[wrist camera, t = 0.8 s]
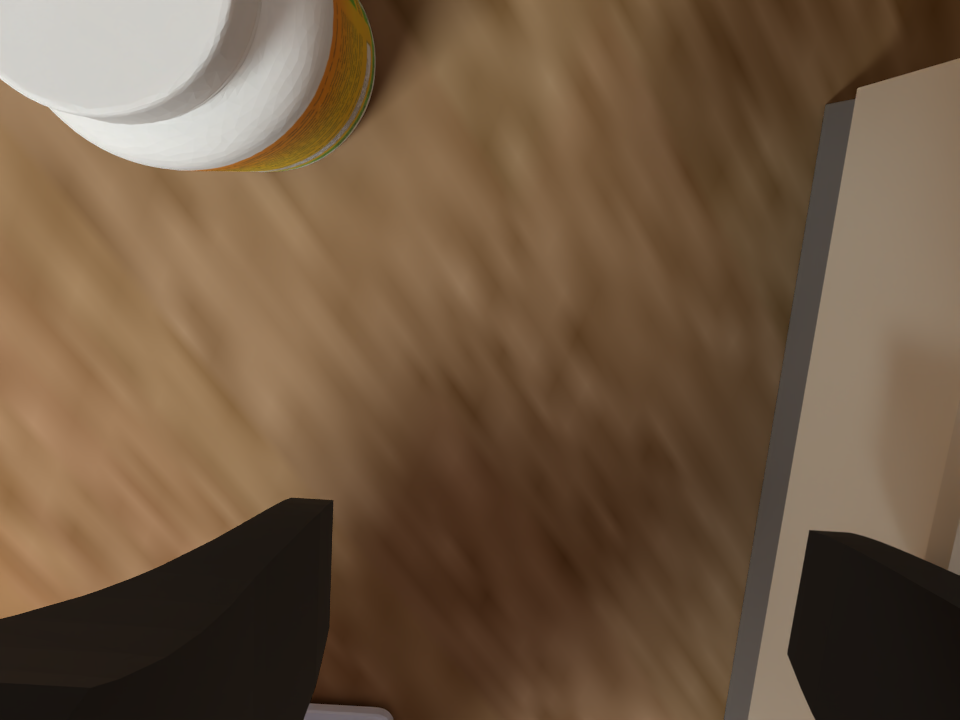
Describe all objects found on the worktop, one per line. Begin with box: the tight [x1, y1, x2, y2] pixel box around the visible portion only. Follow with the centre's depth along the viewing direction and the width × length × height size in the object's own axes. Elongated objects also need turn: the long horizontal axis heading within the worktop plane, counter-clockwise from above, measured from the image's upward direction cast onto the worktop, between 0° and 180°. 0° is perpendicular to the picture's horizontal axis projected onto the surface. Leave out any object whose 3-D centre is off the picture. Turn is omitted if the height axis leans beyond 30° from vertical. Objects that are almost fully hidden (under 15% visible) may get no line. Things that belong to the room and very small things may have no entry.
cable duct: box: [724, 99, 855, 720], centre depth 21 cm, size 20×8×3 cm, turn 176°
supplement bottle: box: [0, 0, 376, 172], centre depth 15 cm, size 5×5×10 cm
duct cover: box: [748, 58, 960, 720], centre depth 15 cm, size 20×8×1 cm
